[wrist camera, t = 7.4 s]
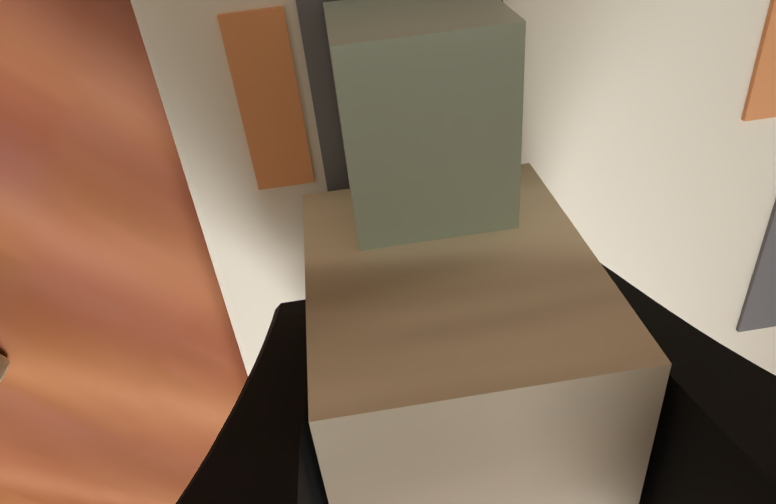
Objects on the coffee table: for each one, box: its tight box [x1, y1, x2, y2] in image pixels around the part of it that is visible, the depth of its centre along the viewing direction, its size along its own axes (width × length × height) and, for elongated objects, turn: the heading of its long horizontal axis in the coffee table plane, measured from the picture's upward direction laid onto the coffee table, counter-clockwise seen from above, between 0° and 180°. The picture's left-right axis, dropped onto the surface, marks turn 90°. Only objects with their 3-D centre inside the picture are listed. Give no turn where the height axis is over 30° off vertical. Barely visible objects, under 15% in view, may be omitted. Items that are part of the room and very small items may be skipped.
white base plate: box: [130, 0, 776, 376], centre depth 14 cm, size 14×17×2 cm
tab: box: [323, 0, 526, 251], centre depth 9 cm, size 3×2×2 cm
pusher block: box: [303, 163, 672, 504], centre depth 10 cm, size 4×4×5 cm
